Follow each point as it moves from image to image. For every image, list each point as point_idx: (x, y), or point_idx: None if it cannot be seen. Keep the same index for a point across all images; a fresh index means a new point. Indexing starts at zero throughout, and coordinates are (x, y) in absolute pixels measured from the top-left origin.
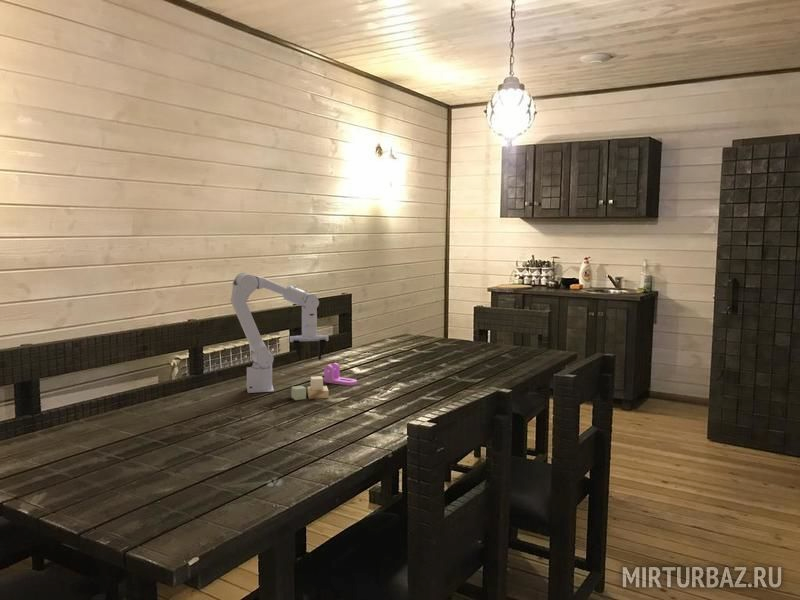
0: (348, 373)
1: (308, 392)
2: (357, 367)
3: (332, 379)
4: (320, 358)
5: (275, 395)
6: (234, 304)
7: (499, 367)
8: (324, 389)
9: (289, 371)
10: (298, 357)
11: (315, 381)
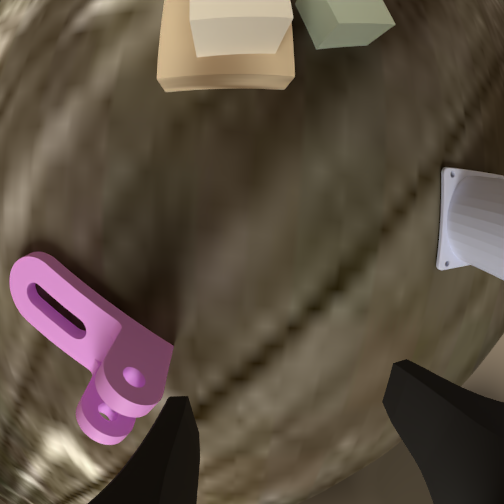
0: None
1: None
2: (87, 476)
3: (120, 327)
4: (166, 404)
5: (432, 106)
6: None
7: None
8: (186, 2)
9: (315, 469)
10: (430, 372)
11: None
